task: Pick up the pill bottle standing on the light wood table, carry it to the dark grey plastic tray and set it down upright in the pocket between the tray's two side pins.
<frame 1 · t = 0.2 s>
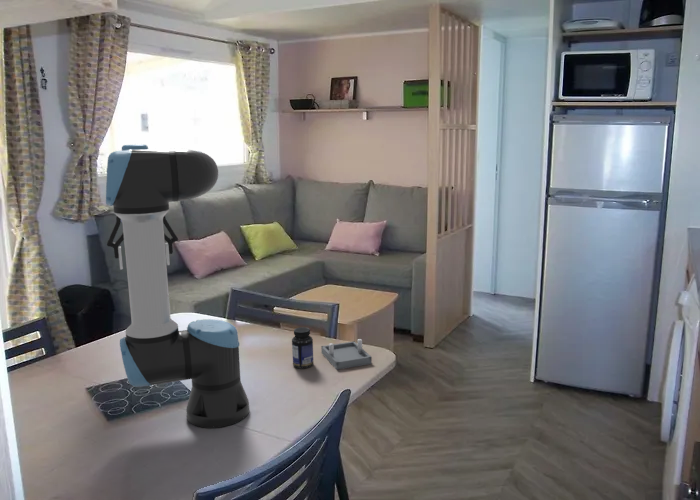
hand: (145, 266, 182), 28 cm above the table, fingers open, 13 cm apart
tray: (345, 358, 181), on the table
pill bottle: (303, 365, 177), on the table
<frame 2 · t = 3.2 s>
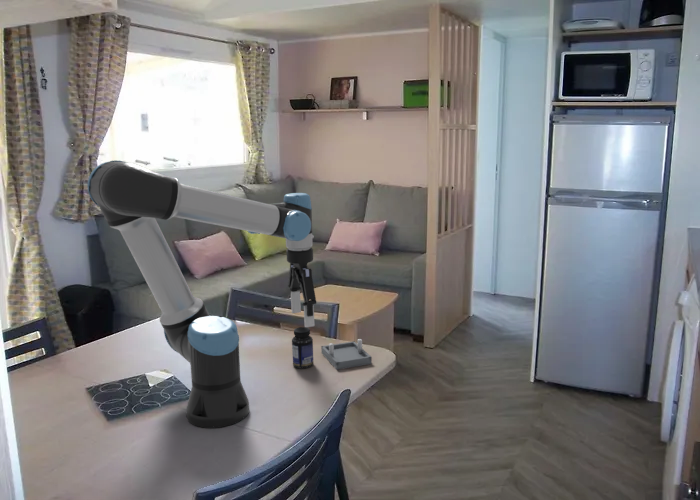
hand: (302, 319, 174), 14 cm above the table, fingers open, 13 cm apart
nothing on the table moved.
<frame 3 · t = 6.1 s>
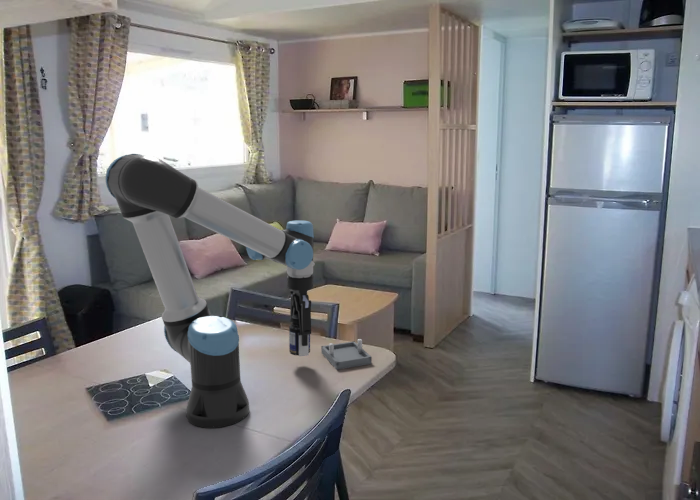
hand: (300, 351, 175), 4 cm above the table, fingers closed on pill bottle, 6 cm apart
pill bottle: (299, 353, 175), point 4 cm above the table, touching gripper
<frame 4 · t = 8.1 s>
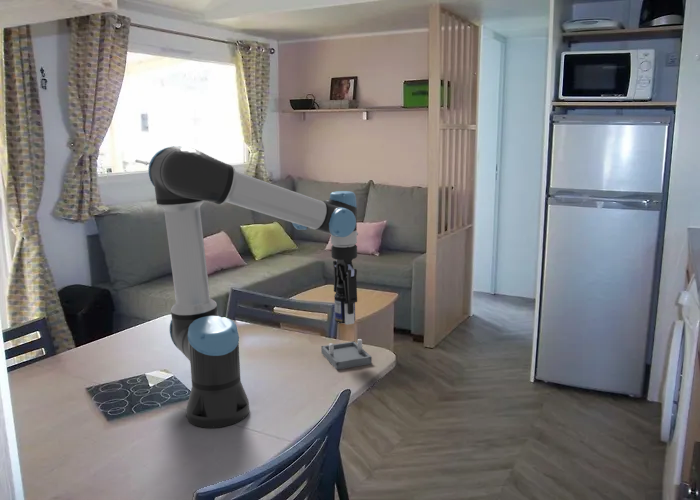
hand: (345, 320, 179), 12 cm above the table, fingers closed on pill bottle, 6 cm apart
pill bottle: (345, 321, 179), point 12 cm above the table, touching gripper
when the fingers open (3 cm above the table, at t = 10.1 s): pill bottle drops 1 cm, resting on tray.
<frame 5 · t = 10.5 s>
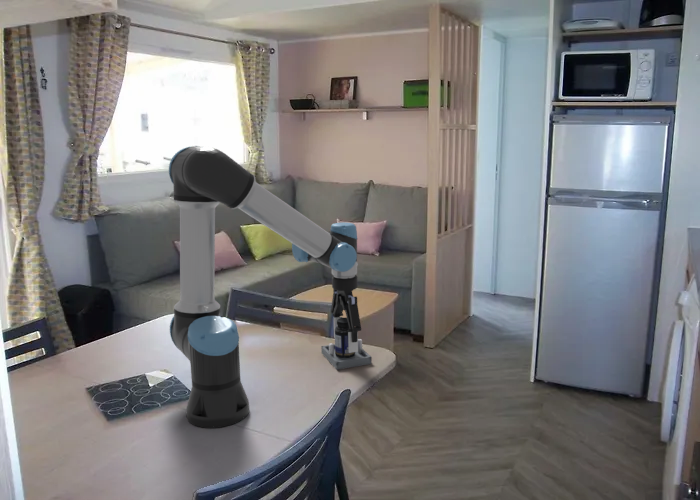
hand: (345, 344, 180), 4 cm above the table, fingers open, 12 cm apart
pill bottle: (345, 355, 181), point 1 cm above the table, touching tray
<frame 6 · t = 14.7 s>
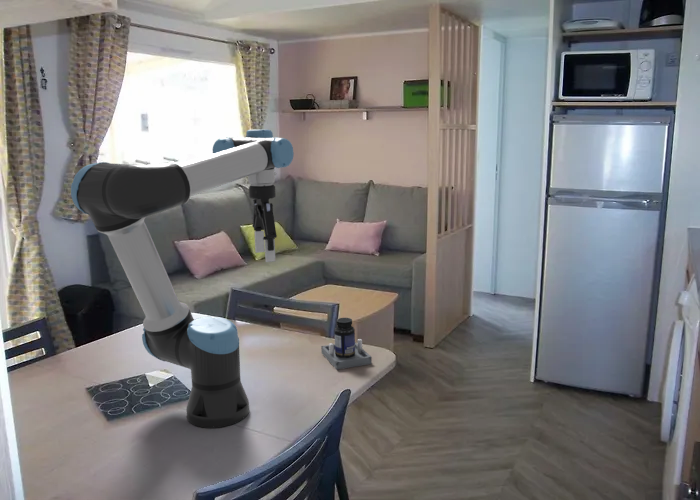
hand: (265, 256, 176), 32 cm above the table, fingers open, 13 cm apart
nothing on the table moved.
at the end: pill bottle 0.3 cm off-centre on the tray, point 1.0 cm above the tray's base; pill bottle tilted 0°; the gripper is holding nothing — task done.
